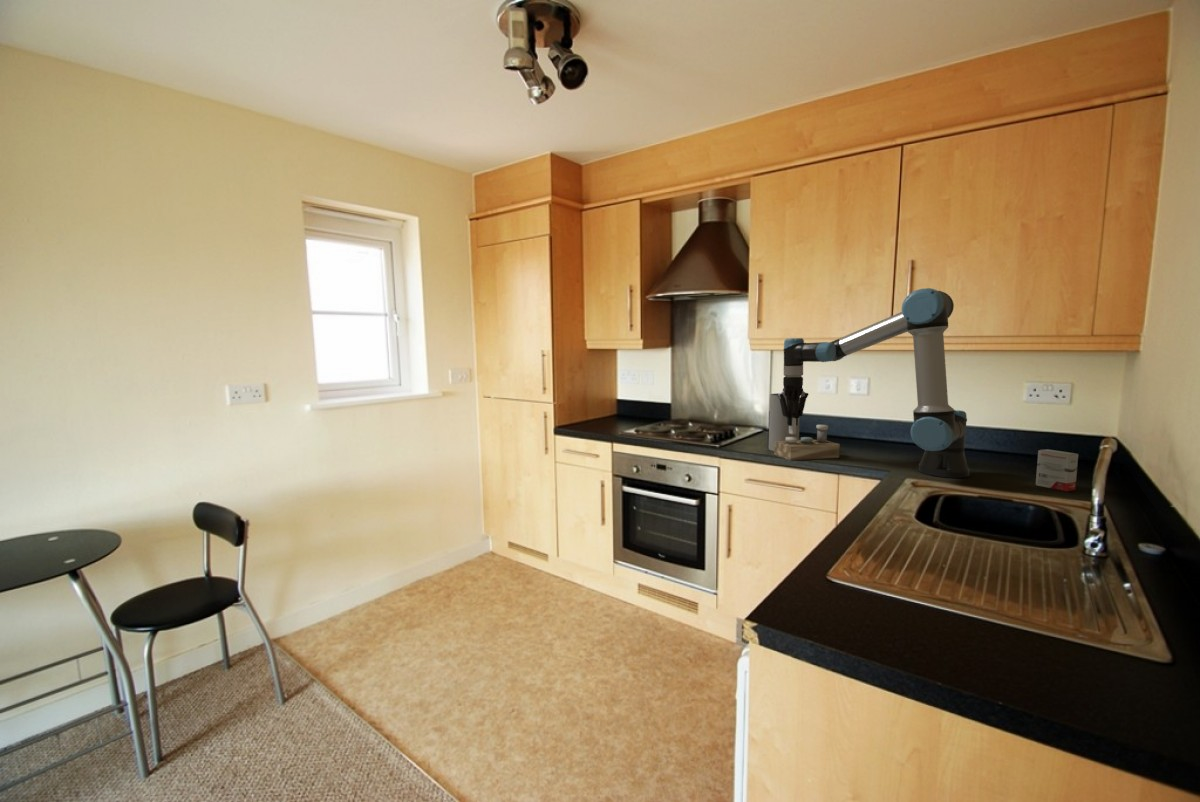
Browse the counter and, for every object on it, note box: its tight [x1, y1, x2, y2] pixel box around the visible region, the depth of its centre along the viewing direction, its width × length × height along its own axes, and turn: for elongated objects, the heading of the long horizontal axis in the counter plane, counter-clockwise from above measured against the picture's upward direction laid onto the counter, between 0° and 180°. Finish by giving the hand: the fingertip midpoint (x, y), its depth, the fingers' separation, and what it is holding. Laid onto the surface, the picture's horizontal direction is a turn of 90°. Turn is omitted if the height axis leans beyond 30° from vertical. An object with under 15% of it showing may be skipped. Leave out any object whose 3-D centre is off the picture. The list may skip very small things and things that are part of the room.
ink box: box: [1035, 449, 1079, 492], centre depth 161 cm, size 8×5×12 cm, turn 23°
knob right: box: [815, 424, 829, 443], centre depth 211 cm, size 5×5×8 cm
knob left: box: [785, 437, 797, 445], centre depth 209 cm, size 5×5×8 cm
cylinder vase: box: [768, 392, 801, 452], centre depth 223 cm, size 12×12×25 cm
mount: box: [773, 438, 841, 461], centre depth 211 cm, size 12×22×6 cm, turn 101°
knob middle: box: [800, 436, 813, 444], centre depth 211 cm, size 5×5×8 cm
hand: (792, 433), depth 208 cm, fingers closed
